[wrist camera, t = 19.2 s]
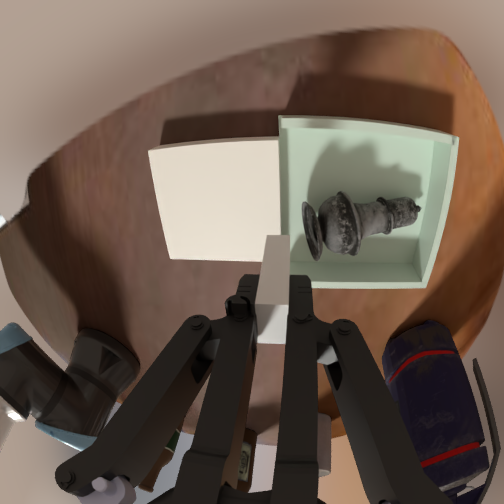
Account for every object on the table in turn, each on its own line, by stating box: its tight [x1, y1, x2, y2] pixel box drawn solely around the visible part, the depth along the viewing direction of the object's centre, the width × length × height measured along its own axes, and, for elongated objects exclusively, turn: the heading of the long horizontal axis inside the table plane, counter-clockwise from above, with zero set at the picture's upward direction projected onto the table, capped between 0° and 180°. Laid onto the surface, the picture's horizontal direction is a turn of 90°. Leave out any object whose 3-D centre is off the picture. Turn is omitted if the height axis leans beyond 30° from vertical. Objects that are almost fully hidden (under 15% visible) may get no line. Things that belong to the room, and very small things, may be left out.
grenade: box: [382, 320, 501, 504], centre depth 22 cm, size 14×12×30 cm
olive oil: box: [236, 428, 257, 493], centre depth 50 cm, size 11×11×25 cm
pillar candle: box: [317, 413, 331, 477], centre depth 45 cm, size 10×10×15 cm
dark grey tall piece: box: [302, 191, 422, 261], centre depth 23 cm, size 6×6×12 cm
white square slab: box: [148, 136, 282, 262], centre depth 27 cm, size 12×12×2 cm
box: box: [278, 115, 459, 289], centre depth 24 cm, size 16×16×4 cm
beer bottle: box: [138, 418, 184, 492], centre depth 51 cm, size 8×8×24 cm
